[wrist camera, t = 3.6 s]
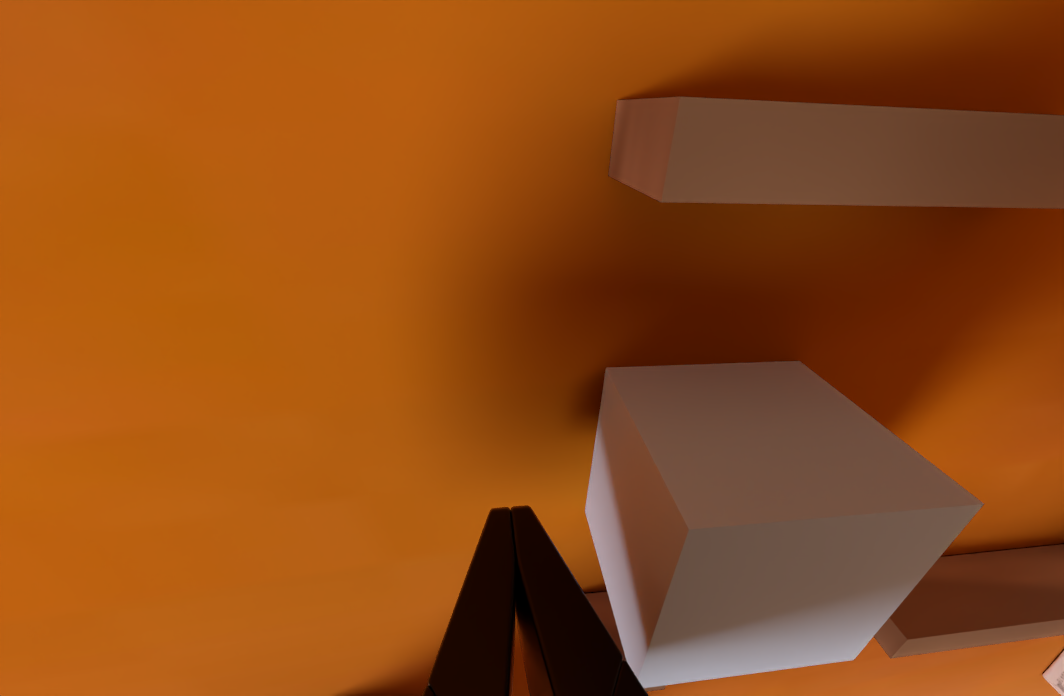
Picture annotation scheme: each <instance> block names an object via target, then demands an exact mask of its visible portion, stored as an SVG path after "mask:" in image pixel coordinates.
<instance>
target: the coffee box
mask: <svg viewBox="0 0 1064 696" xmlns="http://www.w3.org/2000/svg"><path fill="white" fill-rule="evenodd" d="M1043 677H1044V678H1045V679H1046V680H1047V681H1048V682H1049V683H1050V685H1051V686H1052V687H1053V688H1054V689H1055V690H1057V691H1058V692H1059V693H1060V694H1061V695H1062V696H1064V651H1063V652H1062V653H1061V654H1060V655H1059V656H1058V657H1057V659H1056V660H1055V661H1054V662H1053V663H1052V664H1051V666H1050V667H1049V668H1048V669H1047V670H1046V671H1045V672H1044V673H1043Z"/></svg>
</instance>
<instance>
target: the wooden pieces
mask: <svg viewBox="0 0 1064 696" xmlns="http://www.w3.org/2000/svg"><path fill="white" fill-rule="evenodd" d="M608 176H609V177H611V178H613V179H615V180H617V181H619V182H621V183H623V184H625V185H627V186H629V187H631V188H633V189H635V190H637V191H639V192H641V193H643V194H645V195H647V196H649V197H651V198H653V199H655V200H657V201H659V202H673V203H737V204H800V205H863V206H926V207H990V208H1053V209H1064V115H1047V114H1026V113H1006V112H986V111H965V110H945V109H924V108H904V107H884V106H863V105H843V104H823V103H802V102H782V101H761V100H741V99H721V98H700V97H663V98H646V99H628V100H617V106H616V115H615V123H614V132H613V140H612V149H611V157H610V166H609V174H608ZM585 595H586V597H587V599H588V600H589V602H590V603H591V605H592V607H593V608H594V610H595V611H596V613H597V615H598V616H599V618H600V619H601V621H602V623H603V624H604V626H605V628H606V629H607V631H608V632H609V634H610V636H611V637H612V639H613V640H614V642H615V644H616V645H617V647H618V648H619V650H620V652H621V653H622V655H623V660H626V657H625V654H624V650H623V646H622V643H621V639H620V636H619V632H618V628H617V625H616V621H615V618H614V614H613V610H612V607H611V603H610V600H609V596H608V592H598V593H588V594H585ZM1059 635H1064V544H1061V545H1051V546H1041V547H1032V548H1022V549H1012V550H1003V551H993V552H984V553H974V554H964V555H955V556H945V557H939V559H938V560H937V561H936V562H935V563H934V564H933V566H932V567H931V568H930V569H929V570H928V572H927V573H926V574H925V575H924V576H923V578H922V579H921V580H920V581H919V582H918V584H917V585H916V586H915V587H914V588H913V590H912V591H911V592H910V593H909V594H908V596H907V597H906V598H905V599H904V600H903V602H902V603H901V604H900V605H899V606H898V608H897V609H896V610H895V611H894V612H893V614H892V615H891V616H890V617H889V618H888V620H887V621H886V622H885V623H884V624H883V626H882V627H881V628H880V629H879V630H878V632H877V633H876V634H875V635H874V637H875V639H876V640H877V641H878V643H879V644H880V645H881V647H882V648H883V649H884V651H885V652H886V653H887V654H888V656H889V657H890V658H897V657H904V656H912V655H919V654H926V653H934V652H941V651H949V650H956V649H963V648H971V647H978V646H985V645H993V644H1000V643H1007V642H1015V641H1022V640H1029V639H1037V638H1044V637H1051V636H1059ZM665 686H666V685H664V686H657V687H649V688H644V689H645V691H646V692H647V691H655V690H662V689H665Z"/></svg>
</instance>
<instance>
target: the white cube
mask: <svg viewBox="0 0 1064 696" xmlns="http://www.w3.org/2000/svg"><path fill="white" fill-rule="evenodd" d="M983 505H984V504H983V503H982V502H981V501H980V500H978V499H977V498H976V497H974V496H973V495H972V494H971V493H969V492H968V491H967V490H965V489H964V488H963V487H962V486H960V485H959V484H958V483H956V482H955V481H954V480H952V479H951V478H950V477H949V476H947V475H946V474H945V473H943V472H942V471H941V470H940V469H938V468H937V467H936V466H934V465H933V464H932V463H931V462H929V461H928V460H927V459H925V458H924V457H923V456H922V455H920V454H919V453H918V452H916V451H915V450H914V449H913V448H911V447H910V446H909V445H907V444H906V443H905V442H904V441H902V440H901V439H900V438H898V437H897V436H896V435H894V434H893V433H892V432H891V431H889V430H888V429H887V428H885V427H884V426H883V425H882V424H880V423H879V422H878V421H876V420H875V419H874V418H873V417H871V416H870V415H869V414H867V413H866V412H865V411H864V410H862V409H861V408H860V407H858V406H857V405H856V404H855V403H853V402H852V401H851V400H849V399H848V398H847V397H846V396H844V395H843V394H842V393H840V392H839V391H838V390H836V389H835V388H834V387H833V386H831V385H830V384H829V383H827V382H826V381H825V380H824V379H822V378H821V377H820V376H818V375H817V374H816V373H815V372H813V371H812V370H811V369H809V368H808V367H807V366H806V365H804V364H803V363H802V362H800V361H779V362H751V363H722V364H694V365H665V366H637V367H608V368H606V371H605V378H604V385H603V392H602V399H601V405H600V412H599V419H598V426H597V433H596V439H595V446H594V453H593V460H592V467H591V474H590V480H589V487H588V494H587V501H586V508H585V513H586V517H587V520H588V524H589V527H590V531H591V535H592V538H593V542H594V545H595V549H596V553H597V556H598V560H599V563H600V567H601V571H602V574H603V578H604V582H605V585H606V589H607V592H608V596H609V600H610V603H611V607H612V610H613V614H614V618H615V621H616V625H617V628H618V632H619V636H620V639H621V643H622V646H623V650H624V654H625V657H626V661H627V663H628V664H629V666H630V667H631V669H632V671H633V672H634V674H635V675H636V677H637V679H638V680H639V682H640V683H641V685H642V686H643V688H649V687H657V686H664V685H671V684H679V683H686V682H694V681H701V680H709V679H716V678H724V677H731V676H738V675H746V674H753V673H761V672H768V671H776V670H783V669H790V668H798V667H805V666H813V665H820V664H828V663H835V662H843V661H850V660H854V659H855V658H856V657H857V655H858V654H859V653H860V652H861V651H862V650H863V648H864V647H865V646H866V645H867V644H868V642H869V641H870V640H871V639H872V638H873V636H874V635H875V634H876V633H877V632H878V630H879V629H880V628H881V627H882V626H883V624H884V623H885V622H886V621H887V620H888V618H889V617H890V616H891V615H892V614H893V612H894V611H895V610H896V609H897V608H898V606H899V605H900V604H901V603H902V602H903V600H904V599H905V598H906V597H907V596H908V594H909V593H910V592H911V591H912V590H913V588H914V587H915V586H916V585H917V584H918V582H919V581H920V580H921V579H922V578H923V576H924V575H925V574H926V573H927V572H928V570H929V569H930V568H931V567H932V566H933V564H934V563H935V562H936V561H937V560H938V559H939V557H940V556H941V555H942V554H943V553H944V551H945V550H946V549H947V548H948V547H949V545H950V544H951V543H952V542H953V541H954V539H955V538H956V537H957V536H958V535H959V533H960V532H961V531H962V530H963V529H964V527H965V526H966V525H967V524H968V523H969V521H970V520H971V519H972V518H973V517H974V515H975V514H976V513H977V512H978V511H979V509H980V508H981V507H982V506H983Z"/></svg>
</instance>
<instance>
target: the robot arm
mask: <svg viewBox="0 0 1064 696" xmlns="http://www.w3.org/2000/svg"><path fill="white" fill-rule="evenodd" d="M515 610H516V619H517V626H518V632H519V638H520V643H521V649H522V654H523V660H524V665H525V671H526V676H527V682H528V688H529V693H530V696H648V694H647V693H646V691H645V689H644V688H643V686H642V685H641V683H640V682H639V680H638V679H637V677H636V675H635V674H634V672H633V671H632V669H631V667H630V666H629V664H628V663H627V661H626V660H623V655H622V653H621V652H620V650H619V648H618V647H617V645H616V644H615V642H614V640H613V639H612V637H611V636H610V634H609V632H608V631H607V629H606V628H605V626H604V624H603V623H602V621H601V619H600V618H599V616H598V615H597V613H596V611H595V610H594V608H593V607H592V605H591V603H590V602H589V600H588V599H587V597H586V595H585V594H584V592H583V591H582V589H581V587H580V586H579V584H578V582H577V581H576V579H575V578H574V576H573V574H572V573H571V571H570V570H569V568H568V566H567V565H566V563H565V562H564V560H563V558H562V557H561V555H560V553H559V552H558V550H557V549H556V547H555V545H554V544H553V542H552V541H551V539H550V537H549V536H548V534H547V533H546V531H545V529H544V528H543V526H542V525H541V523H540V521H539V520H538V518H537V516H536V515H535V513H534V512H533V510H532V509H531V507H529V506H514V507H512V508H511V510H510V509H509V508H508V507H502V508H493V509H491V510H490V512H489V515H488V517H487V520H486V523H485V526H484V528H483V531H482V534H481V536H480V539H479V542H478V545H477V547H476V550H475V553H474V556H473V558H472V561H471V564H470V567H469V569H468V572H467V575H466V578H465V580H464V583H463V586H462V588H461V591H460V594H459V597H458V599H457V602H456V605H455V608H454V610H453V613H452V616H451V619H450V621H449V624H448V627H447V629H446V632H445V635H444V638H443V640H442V643H441V646H440V649H439V651H438V654H437V657H436V660H435V662H434V665H433V668H432V671H431V673H430V676H429V679H428V686H426V687H425V689H424V692H423V694H422V696H513V672H514V647H515Z"/></svg>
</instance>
